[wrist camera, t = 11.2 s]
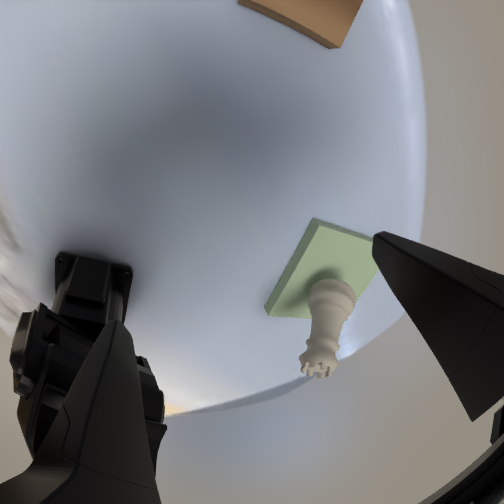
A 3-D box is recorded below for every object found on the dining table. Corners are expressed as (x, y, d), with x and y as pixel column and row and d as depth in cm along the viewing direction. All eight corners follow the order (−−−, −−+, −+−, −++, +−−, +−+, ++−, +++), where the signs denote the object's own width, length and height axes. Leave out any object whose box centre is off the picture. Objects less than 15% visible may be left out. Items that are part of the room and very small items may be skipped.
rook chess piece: (357, 277, 23) (344, 364, 18) (356, 306, 26) (344, 384, 21) (306, 274, 25) (283, 357, 20) (312, 303, 28) (293, 378, 23)
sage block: (334, 308, 33) (342, 320, 31) (261, 301, 28) (268, 315, 27) (380, 238, 28) (391, 249, 27) (308, 213, 24) (319, 225, 22)
